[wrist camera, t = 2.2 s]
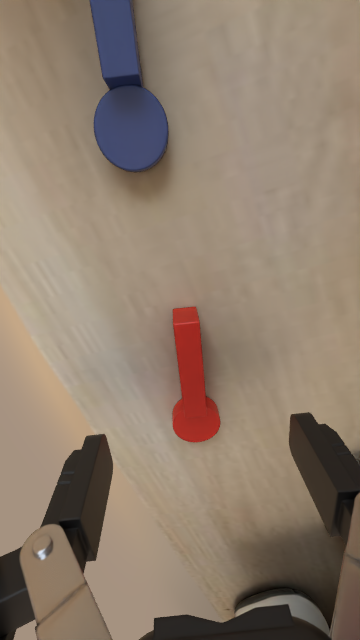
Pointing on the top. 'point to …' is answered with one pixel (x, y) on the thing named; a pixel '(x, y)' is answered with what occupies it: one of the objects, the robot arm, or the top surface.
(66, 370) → the top surface
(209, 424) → the red spoon
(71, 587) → the robot arm
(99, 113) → the blue bar with disc
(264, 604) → the sneaker
